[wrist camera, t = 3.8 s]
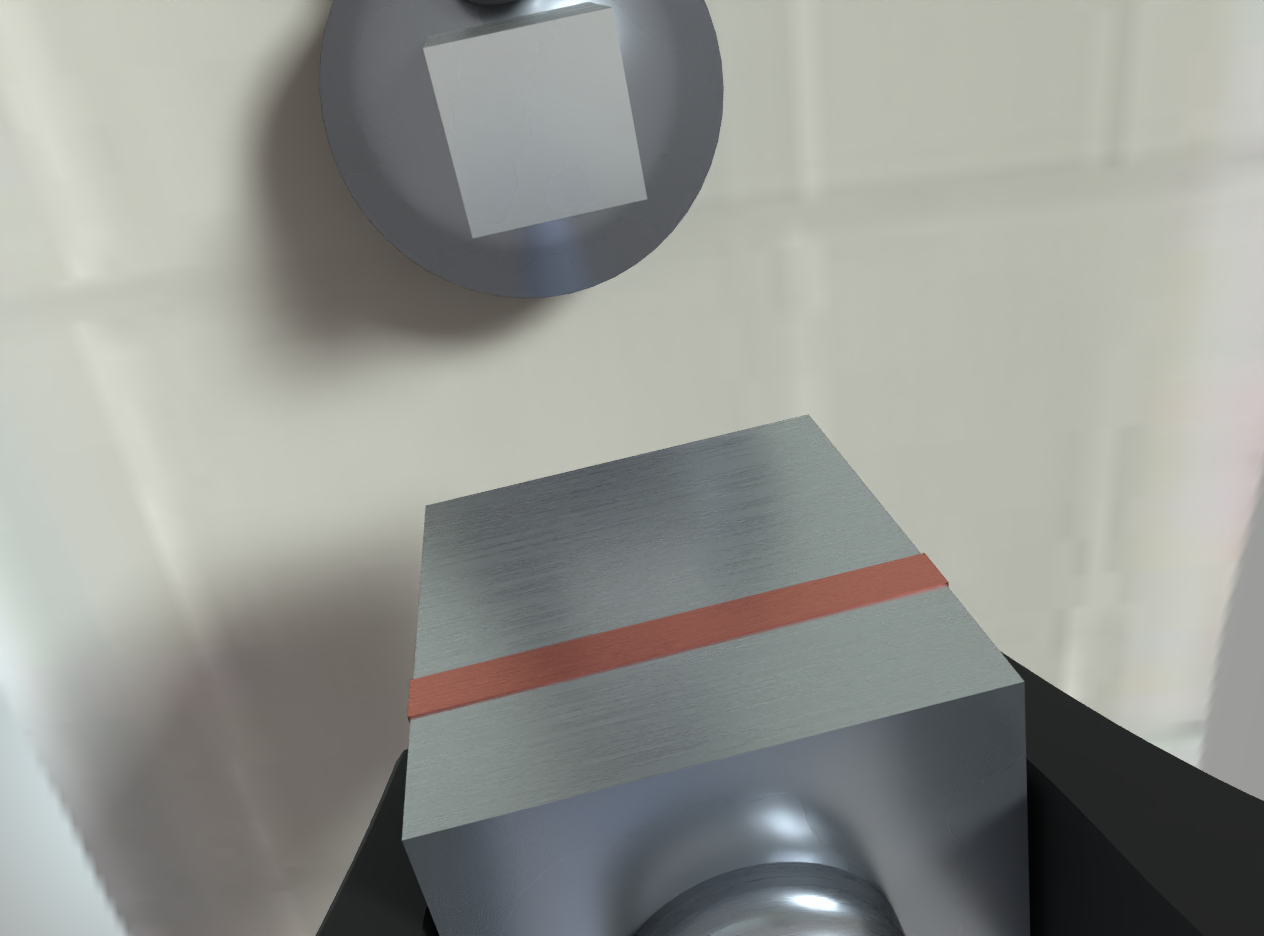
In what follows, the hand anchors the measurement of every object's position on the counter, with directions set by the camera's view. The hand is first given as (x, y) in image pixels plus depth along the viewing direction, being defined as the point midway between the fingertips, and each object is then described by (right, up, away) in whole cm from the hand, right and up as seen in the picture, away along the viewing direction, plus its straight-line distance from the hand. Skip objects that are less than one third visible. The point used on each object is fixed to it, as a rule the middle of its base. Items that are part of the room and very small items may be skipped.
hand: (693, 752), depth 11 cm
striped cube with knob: (0, +1, +2) cm, 2 cm away
